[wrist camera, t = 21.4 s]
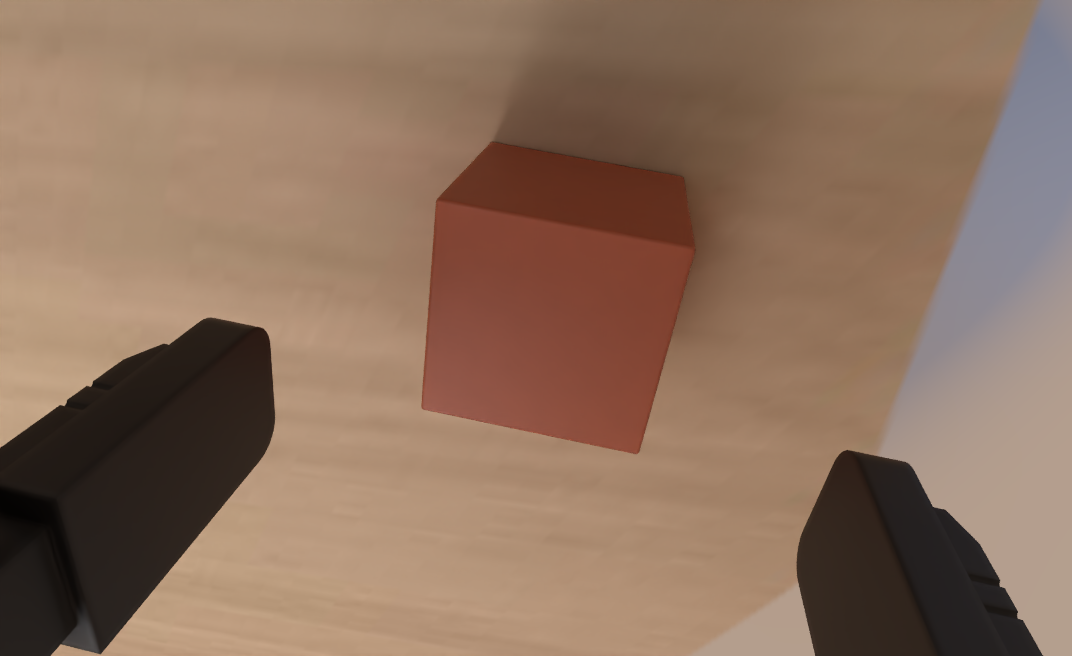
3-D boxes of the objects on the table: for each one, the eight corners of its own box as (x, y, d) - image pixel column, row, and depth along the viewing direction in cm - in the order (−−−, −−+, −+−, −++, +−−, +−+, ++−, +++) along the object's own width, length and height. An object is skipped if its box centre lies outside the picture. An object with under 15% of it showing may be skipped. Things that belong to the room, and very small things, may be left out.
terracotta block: (471, 312, 18) (420, 410, 14) (490, 140, 15) (435, 198, 11) (641, 346, 17) (638, 456, 13) (684, 176, 15) (696, 247, 11)
